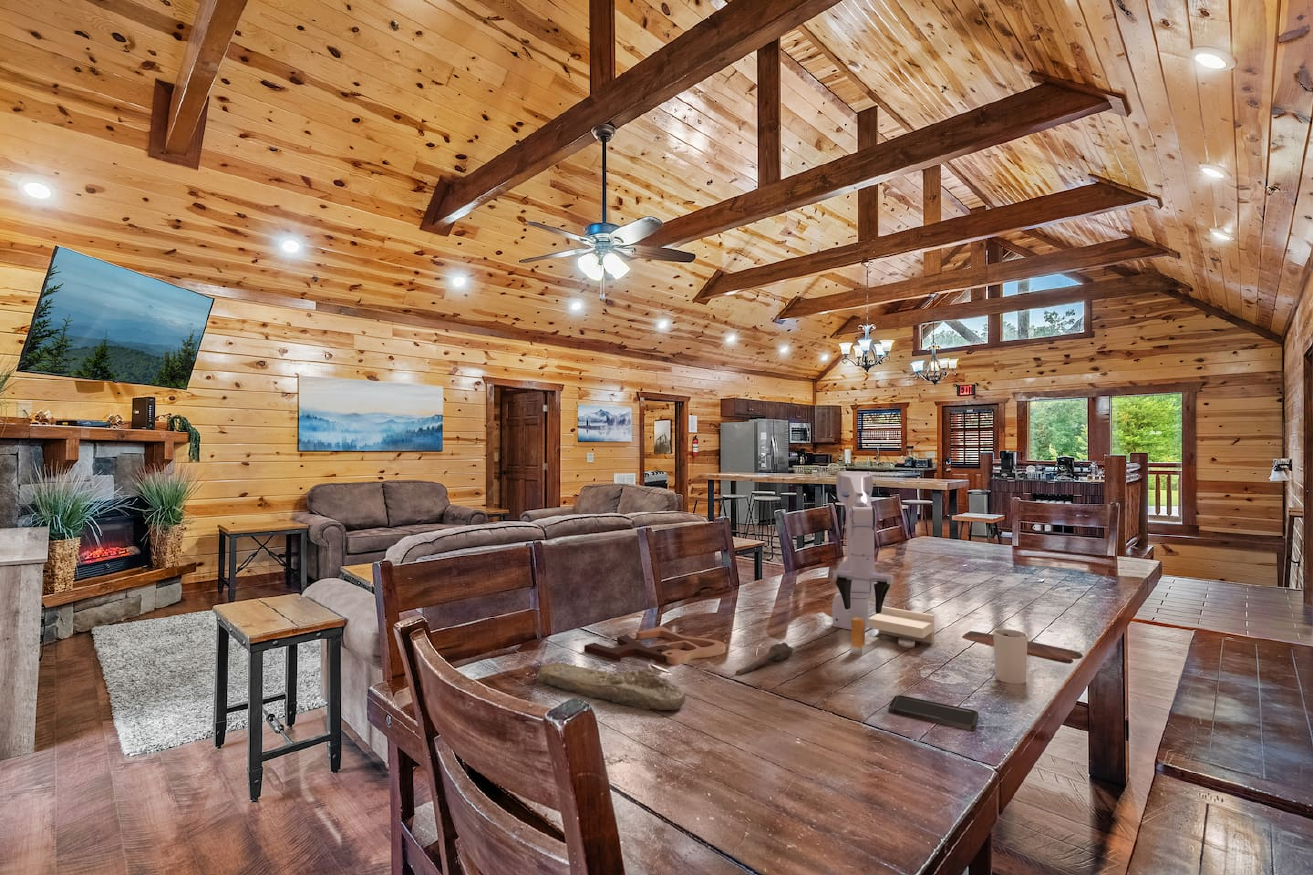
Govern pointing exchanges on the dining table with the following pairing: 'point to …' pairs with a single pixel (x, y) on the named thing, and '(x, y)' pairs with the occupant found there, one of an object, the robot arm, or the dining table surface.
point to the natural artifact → (769, 657)
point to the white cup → (1010, 655)
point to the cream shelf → (904, 624)
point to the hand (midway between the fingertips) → (862, 610)
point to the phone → (934, 712)
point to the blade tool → (861, 638)
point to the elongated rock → (615, 686)
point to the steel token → (906, 642)
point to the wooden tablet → (1029, 648)
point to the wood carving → (659, 647)
